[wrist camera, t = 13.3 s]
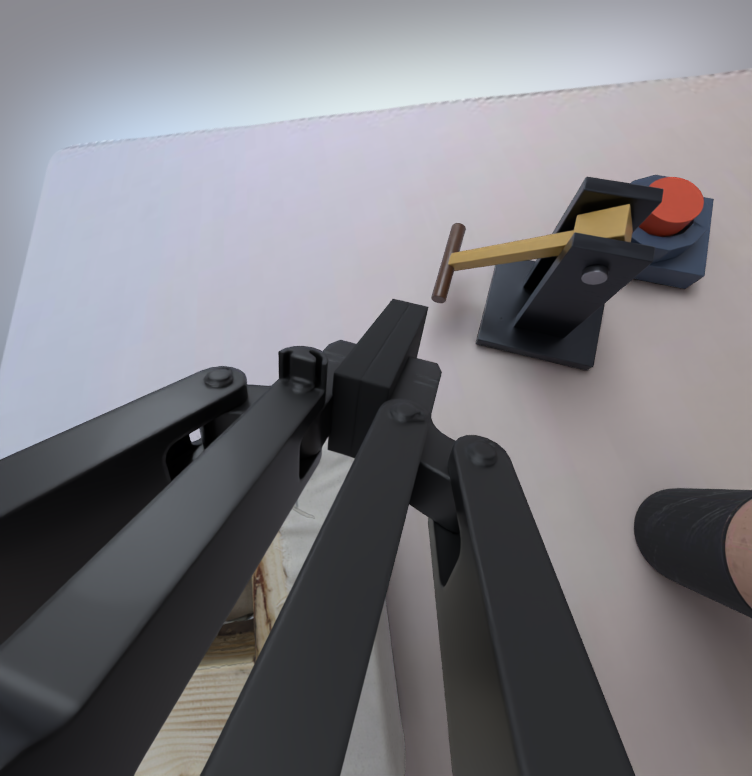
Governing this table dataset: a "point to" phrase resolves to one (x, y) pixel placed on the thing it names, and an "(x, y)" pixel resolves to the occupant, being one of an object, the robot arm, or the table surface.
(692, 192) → the red button
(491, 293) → the tap bracket
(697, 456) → the table surface
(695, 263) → the button box
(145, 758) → the box
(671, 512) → the travel mug
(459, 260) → the tap lever
